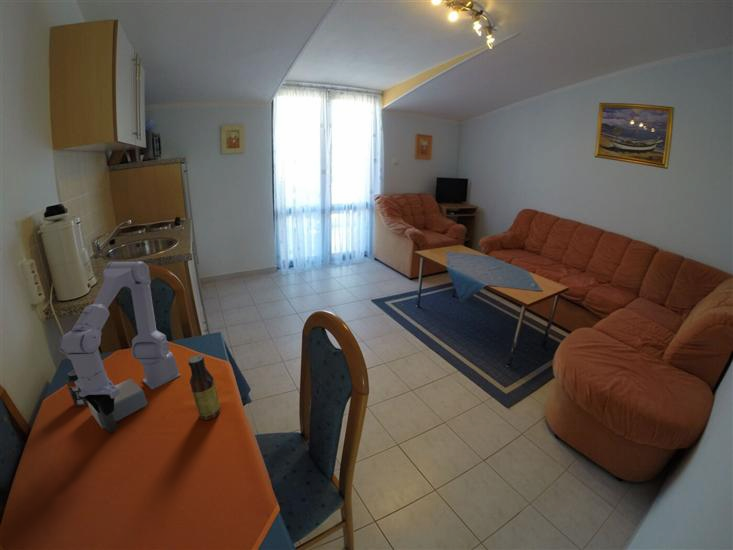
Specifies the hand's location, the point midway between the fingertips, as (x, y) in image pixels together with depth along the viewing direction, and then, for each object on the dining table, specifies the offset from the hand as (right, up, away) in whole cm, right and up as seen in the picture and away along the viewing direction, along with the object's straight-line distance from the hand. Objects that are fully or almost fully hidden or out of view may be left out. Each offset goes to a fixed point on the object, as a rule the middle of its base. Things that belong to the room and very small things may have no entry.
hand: (105, 411), depth 95 cm
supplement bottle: (-18, -3, +15) cm, 24 cm away
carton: (-4, -4, +11) cm, 12 cm away
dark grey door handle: (+2, -5, +7) cm, 8 cm away
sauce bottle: (+25, -4, +9) cm, 27 cm away
